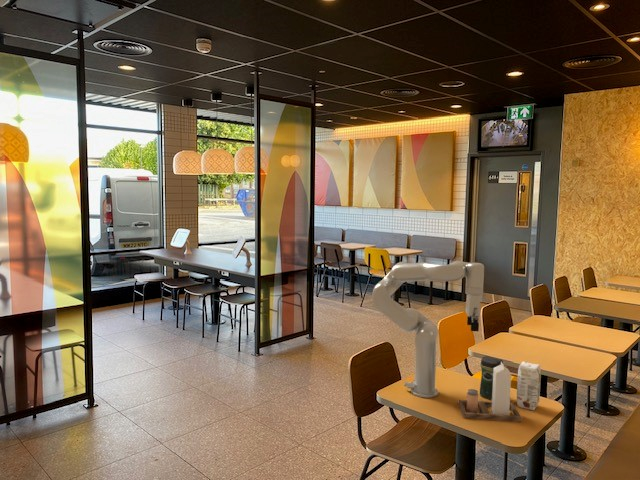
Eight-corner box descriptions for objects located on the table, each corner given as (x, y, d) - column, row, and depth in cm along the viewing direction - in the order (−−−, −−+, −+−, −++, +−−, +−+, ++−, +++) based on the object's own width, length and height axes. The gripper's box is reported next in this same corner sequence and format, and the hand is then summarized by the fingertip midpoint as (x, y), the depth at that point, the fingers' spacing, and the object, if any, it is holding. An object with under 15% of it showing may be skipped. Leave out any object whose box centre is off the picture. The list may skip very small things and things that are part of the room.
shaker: (467, 413, 203) (468, 392, 202) (465, 408, 208) (466, 388, 207) (478, 414, 203) (479, 393, 202) (476, 409, 207) (477, 389, 206)
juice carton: (535, 412, 205) (538, 369, 203) (515, 406, 210) (517, 364, 208) (540, 405, 211) (542, 364, 209) (519, 400, 216) (521, 360, 214)
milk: (505, 411, 206) (508, 361, 204) (509, 417, 200) (512, 366, 198) (491, 409, 207) (493, 360, 205) (494, 416, 201) (496, 365, 199)
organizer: (463, 418, 199) (463, 413, 199) (458, 404, 212) (458, 399, 212) (521, 422, 196) (521, 417, 196) (512, 407, 209) (512, 403, 209)
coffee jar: (504, 397, 220) (506, 358, 218) (496, 402, 214) (498, 362, 212) (485, 391, 227) (486, 353, 225) (476, 395, 221) (478, 356, 219)
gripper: (462, 286, 222) (461, 322, 223) (468, 294, 205) (467, 333, 206) (479, 287, 221) (477, 323, 222) (486, 295, 204) (485, 334, 205)
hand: (472, 328), depth 214 cm, fingers open, 9 cm apart
